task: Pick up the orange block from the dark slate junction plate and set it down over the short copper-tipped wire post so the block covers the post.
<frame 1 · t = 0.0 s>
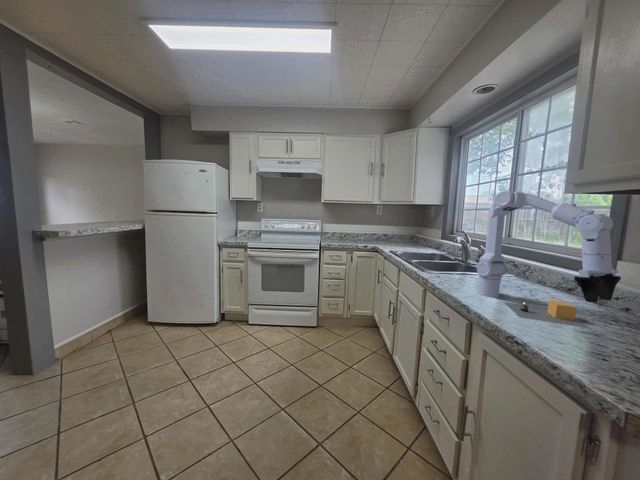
hand: (598, 300, 71), 10 cm above the worktop, fingers open, 7 cm apart
wire post: (524, 310, 86), resting on junction plate
junction plate: (541, 316, 84), on the worktop
orange block: (560, 316, 82), point 1 cm above the worktop, touching junction plate
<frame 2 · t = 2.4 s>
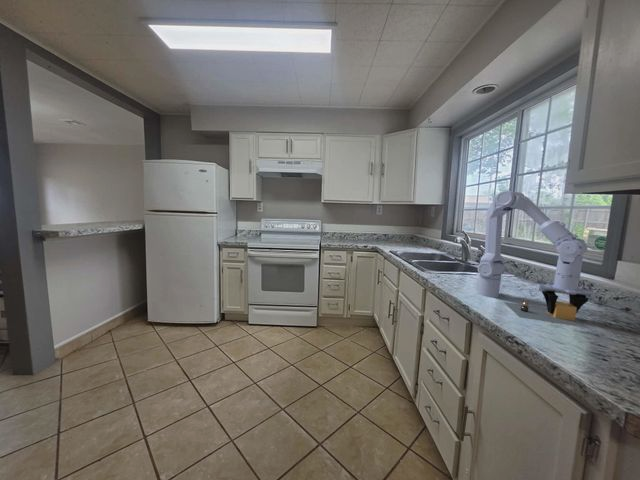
hand: (560, 314, 82), 2 cm above the worktop, fingers closed on orange block, 5 cm apart
orange block: (560, 316, 82), point 1 cm above the worktop, touching gripper, junction plate
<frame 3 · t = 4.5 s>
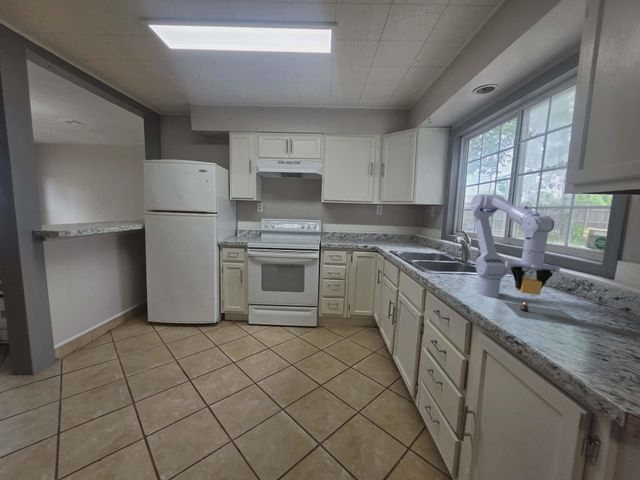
hand: (527, 289, 85), 9 cm above the worktop, fingers closed on orange block, 5 cm apart
orange block: (527, 291, 85), point 8 cm above the worktop, touching gripper
when the fingers open (3 cm above the worktop, at t = 6.4 s): orange block drops 1 cm, resting on junction plate.
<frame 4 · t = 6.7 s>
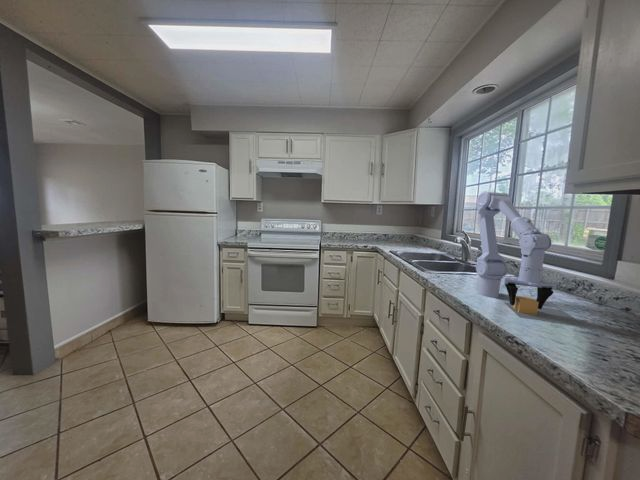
hand: (524, 306, 85), 3 cm above the worktop, fingers open, 7 cm apart
orange block: (524, 310, 86), point 1 cm above the worktop, touching junction plate
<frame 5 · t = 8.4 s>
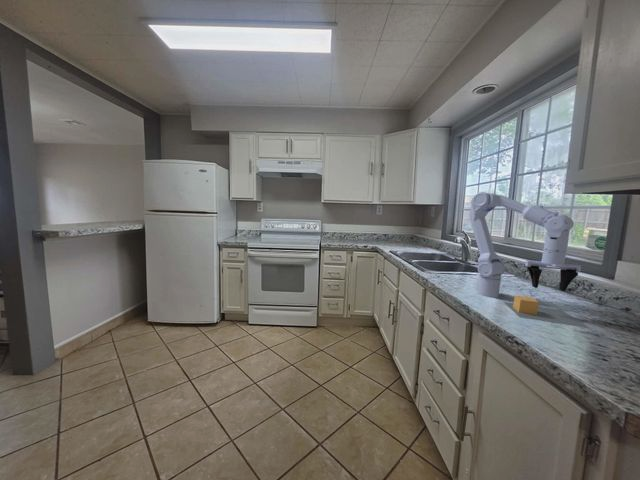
hand: (548, 288, 85), 9 cm above the worktop, fingers open, 7 cm apart
nothing on the worktop moved.
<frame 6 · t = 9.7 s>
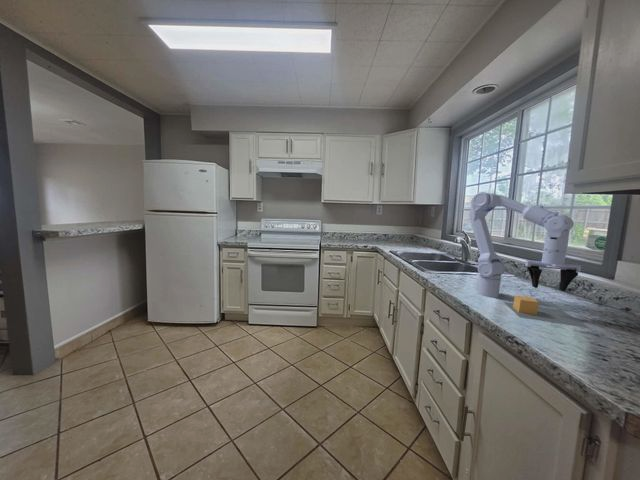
hand: (548, 288, 85), 9 cm above the worktop, fingers open, 7 cm apart
nothing on the worktop moved.
at the end: orange block 0.1 cm from the wire post (horizontally); orange block point 1.2 cm above the worktop; the gripper is holding nothing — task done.
